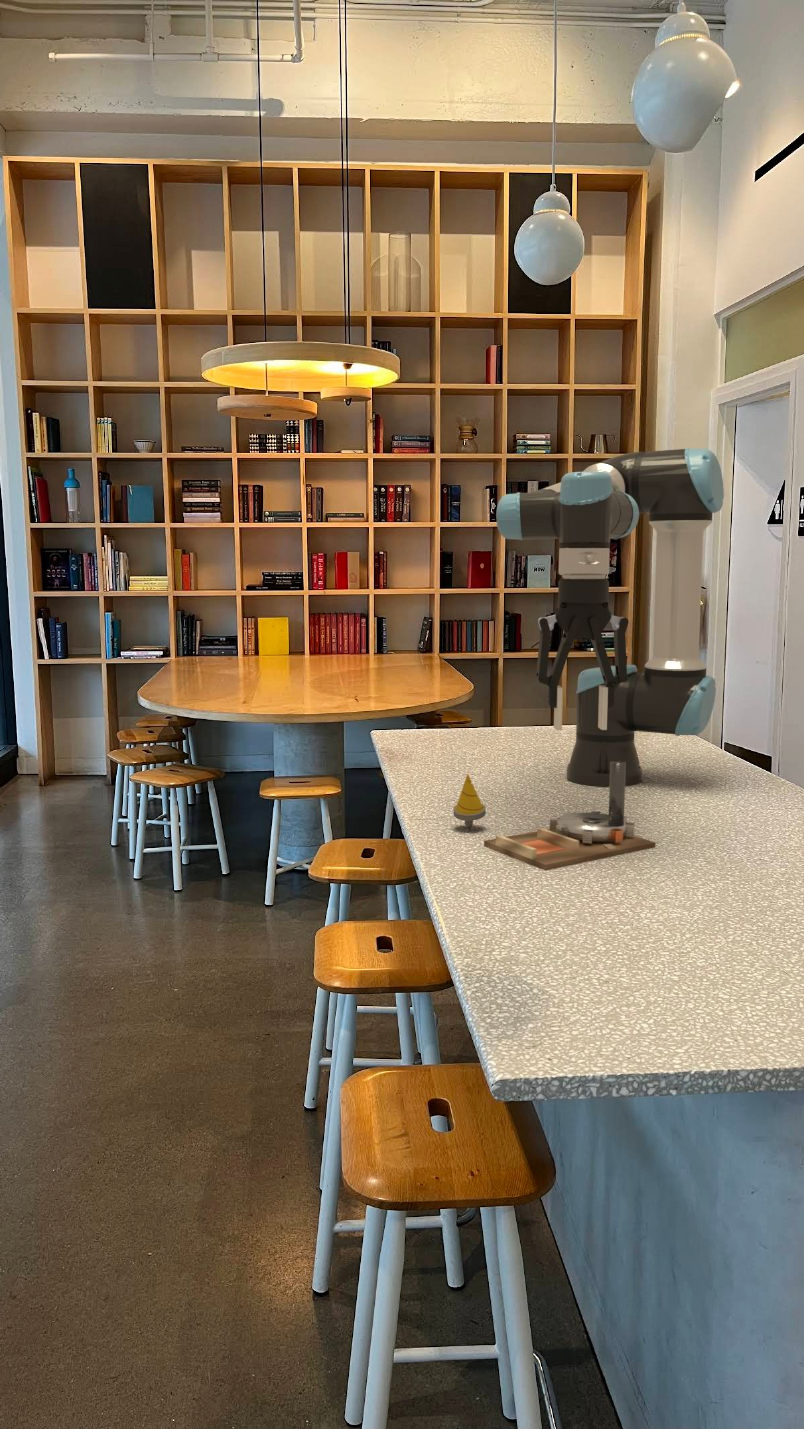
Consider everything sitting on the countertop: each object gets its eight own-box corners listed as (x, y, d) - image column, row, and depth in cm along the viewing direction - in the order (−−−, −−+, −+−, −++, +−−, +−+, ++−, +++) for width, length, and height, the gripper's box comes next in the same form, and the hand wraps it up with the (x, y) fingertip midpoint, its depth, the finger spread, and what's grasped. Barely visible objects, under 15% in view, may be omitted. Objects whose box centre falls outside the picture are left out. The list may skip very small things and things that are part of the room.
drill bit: (489, 823, 173) (487, 768, 169) (482, 837, 168) (479, 782, 164) (459, 820, 174) (456, 766, 171) (450, 834, 170) (447, 779, 166)
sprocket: (585, 847, 154) (587, 771, 152) (533, 828, 166) (534, 756, 164) (651, 836, 160) (654, 762, 159) (597, 818, 172) (599, 749, 170)
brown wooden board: (484, 846, 160) (484, 831, 160) (589, 827, 172) (590, 813, 171) (545, 871, 148) (545, 854, 147) (655, 848, 159) (655, 833, 159)
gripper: (523, 577, 150) (521, 733, 153) (653, 577, 150) (648, 732, 154) (516, 577, 157) (514, 725, 160) (640, 576, 157) (635, 724, 161)
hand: (580, 728), depth 157 cm, fingers open, 6 cm apart
